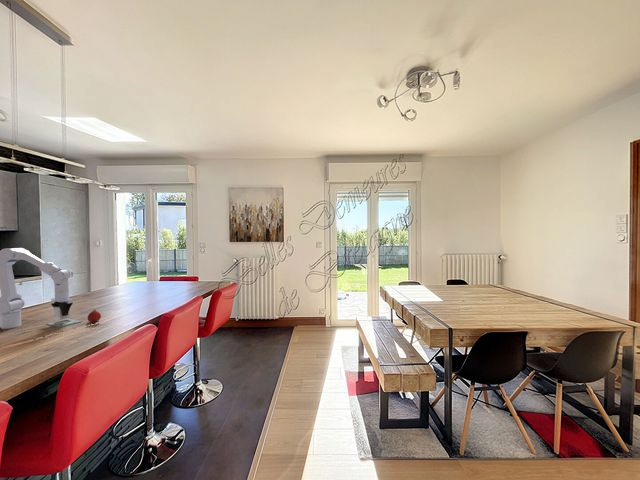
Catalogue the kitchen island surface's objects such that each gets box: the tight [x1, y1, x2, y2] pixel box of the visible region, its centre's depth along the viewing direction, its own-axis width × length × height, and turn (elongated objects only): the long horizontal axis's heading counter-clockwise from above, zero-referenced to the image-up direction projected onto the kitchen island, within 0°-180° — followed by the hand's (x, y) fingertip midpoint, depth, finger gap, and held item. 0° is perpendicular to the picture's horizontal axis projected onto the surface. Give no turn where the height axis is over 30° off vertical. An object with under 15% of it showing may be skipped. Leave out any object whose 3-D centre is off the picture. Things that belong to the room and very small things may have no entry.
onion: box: [87, 308, 102, 324], centre depth 154 cm, size 6×6×8 cm
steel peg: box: [53, 306, 70, 321], centre depth 152 cm, size 4×4×7 cm
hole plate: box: [45, 318, 83, 328], centre depth 152 cm, size 14×10×2 cm
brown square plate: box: [19, 324, 51, 333], centre depth 144 cm, size 9×9×1 cm
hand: (62, 315), depth 153 cm, fingers closed on steel peg, 4 cm apart
